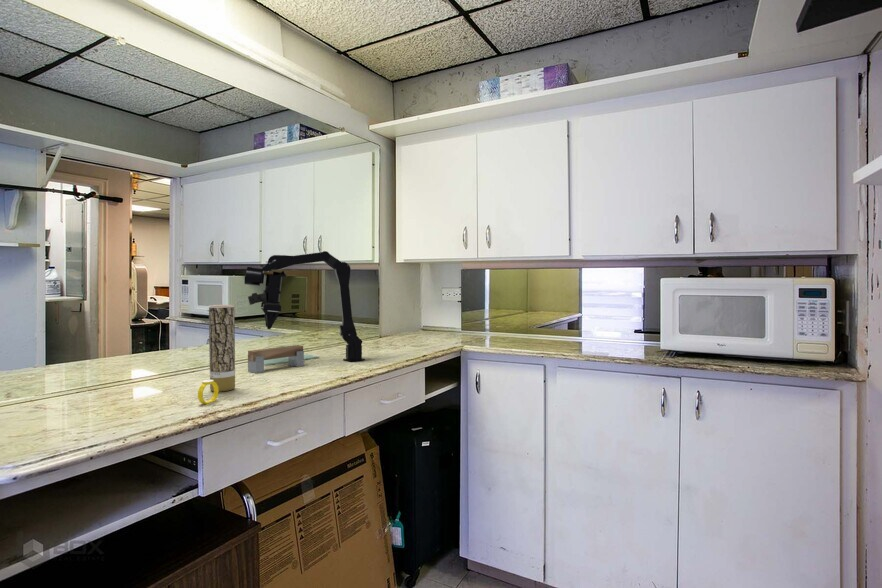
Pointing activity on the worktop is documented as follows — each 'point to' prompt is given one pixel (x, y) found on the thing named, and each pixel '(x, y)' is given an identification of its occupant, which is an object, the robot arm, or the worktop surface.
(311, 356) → the mat
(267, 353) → the rail
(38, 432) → the worktop surface
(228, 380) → the brown tall cylinder
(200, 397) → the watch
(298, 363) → the post
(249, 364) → the post
